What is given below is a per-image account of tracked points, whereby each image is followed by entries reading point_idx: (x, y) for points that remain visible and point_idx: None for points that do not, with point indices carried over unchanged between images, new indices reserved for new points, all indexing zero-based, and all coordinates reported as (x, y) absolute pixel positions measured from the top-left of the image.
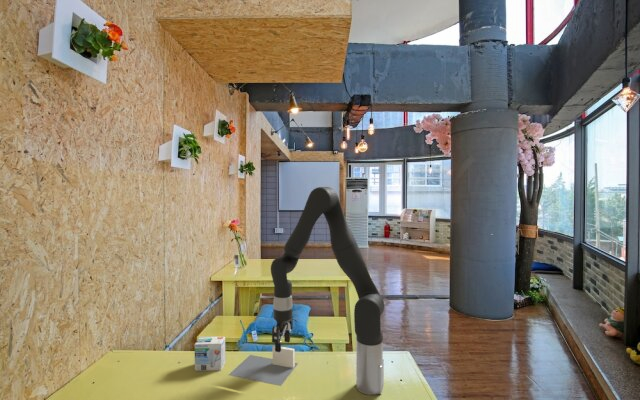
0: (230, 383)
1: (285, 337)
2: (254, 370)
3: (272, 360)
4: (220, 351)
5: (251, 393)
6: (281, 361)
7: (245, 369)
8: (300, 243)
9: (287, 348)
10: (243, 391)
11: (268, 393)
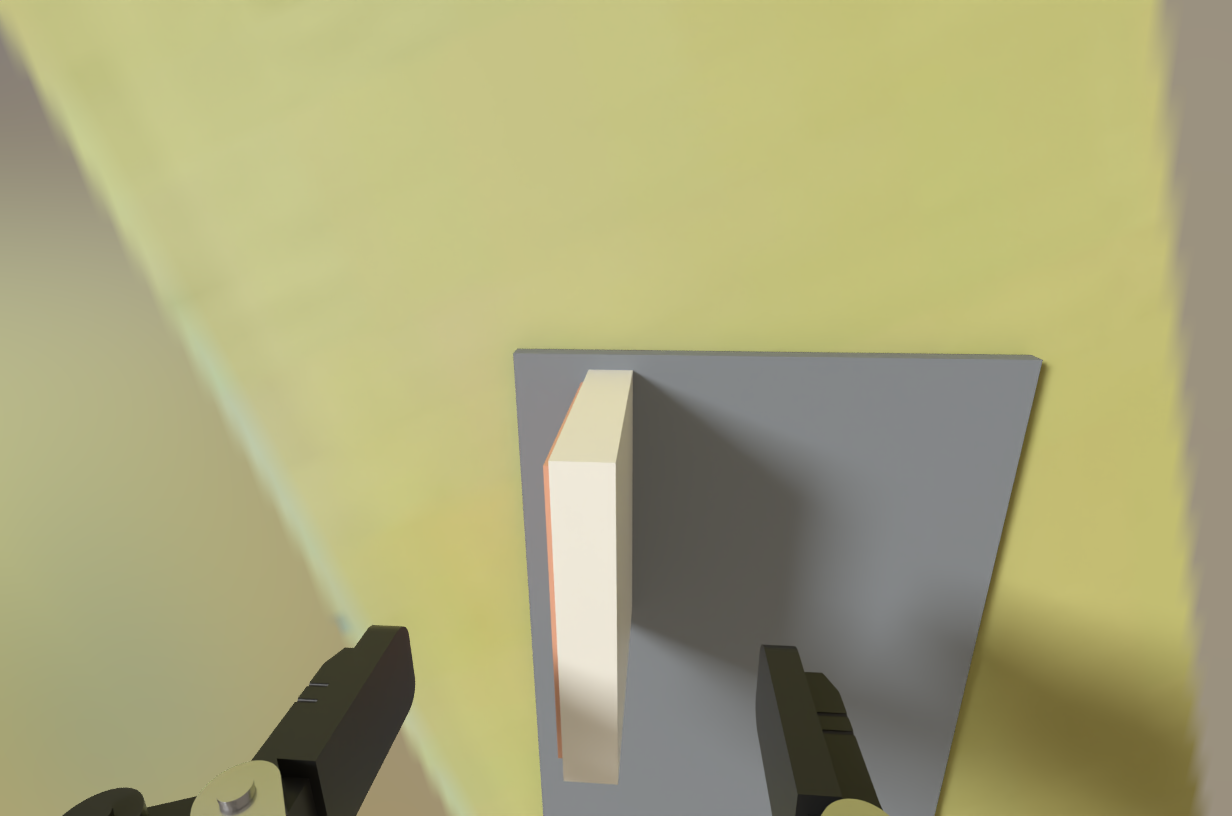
0: (1021, 801)
1: (377, 748)
2: None
3: None
4: None
5: (1171, 588)
6: (629, 540)
7: None
8: None
9: (580, 576)
10: (1141, 664)
11: (1162, 436)
